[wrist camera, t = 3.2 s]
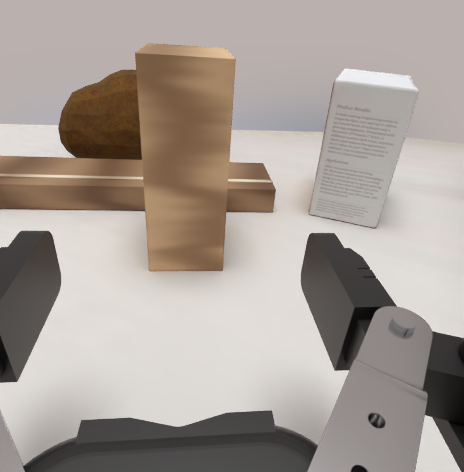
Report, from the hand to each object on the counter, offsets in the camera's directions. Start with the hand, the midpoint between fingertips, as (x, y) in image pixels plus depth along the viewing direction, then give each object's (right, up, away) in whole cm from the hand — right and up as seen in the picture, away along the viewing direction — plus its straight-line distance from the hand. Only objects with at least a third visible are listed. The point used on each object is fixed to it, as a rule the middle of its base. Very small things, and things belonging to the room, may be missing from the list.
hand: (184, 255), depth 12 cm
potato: (-9, +9, +27) cm, 30 cm away
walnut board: (-8, +4, +20) cm, 22 cm away
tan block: (-2, +2, +16) cm, 16 cm away
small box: (+12, +3, +21) cm, 24 cm away
